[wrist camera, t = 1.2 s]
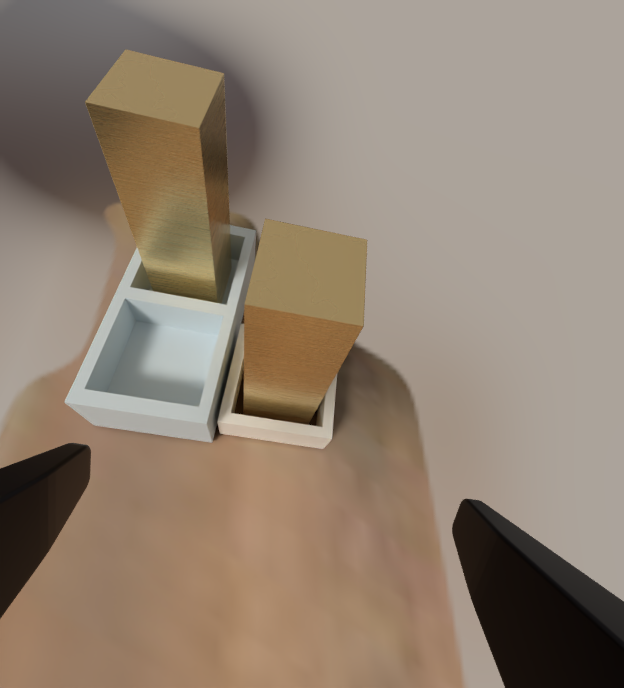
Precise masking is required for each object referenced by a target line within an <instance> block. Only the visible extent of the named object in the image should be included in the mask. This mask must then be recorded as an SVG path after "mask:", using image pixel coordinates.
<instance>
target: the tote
mask: <svg viewBox="0 0 624 688" xmlns="http://www.w3.org/2000/svg"><path fill="white" fill-rule="evenodd" d="M243 373H244V324H242V323H241V326H240V330H239V334H238V338H237V342H236V347H235V351H234V355H233V359H232V363H231V367H230V371H229V375H228V380H227V384H226V388H225V392H224V396H223V400H222V404H221V409H220V413H219V417H218V421H217V423H218V427H219V432H220V434H226V435H233V436H240V437H246V438H253V439H260V440H266V441H273V442H280V443H286V444H293V445H300V446H306V447H313V448H320V449H324V448H325V447H326V445H327V444H328V443H329V442H330V441H331V440H332V432H333V419H334V407H335V394H336V382H337V374H336V376H335V378H334V379H333V381H332V383H331V385H330V386H329V388H328V390H327V392H326V394H325V395H324V397H323V399H322V401H321V402H320V404H319V406H318V412H317V422H316V426H312V425H305V424H299V423H292V422H286V421H279V420H273V419H267V418H260V417H254V416H247V415H241V414H234V413H235V409H236V404H237V400H238V395H239V391H240V386H241V382H242V377H243Z"/></svg>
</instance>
